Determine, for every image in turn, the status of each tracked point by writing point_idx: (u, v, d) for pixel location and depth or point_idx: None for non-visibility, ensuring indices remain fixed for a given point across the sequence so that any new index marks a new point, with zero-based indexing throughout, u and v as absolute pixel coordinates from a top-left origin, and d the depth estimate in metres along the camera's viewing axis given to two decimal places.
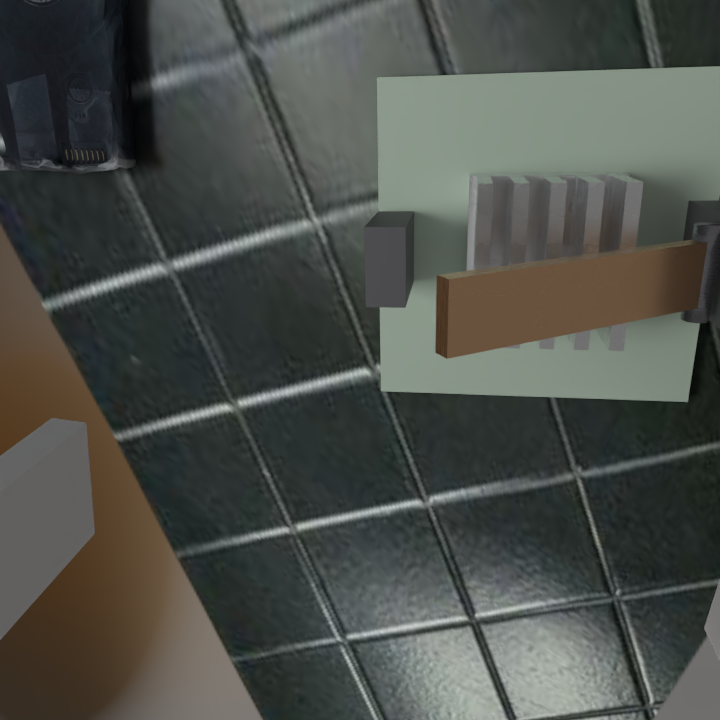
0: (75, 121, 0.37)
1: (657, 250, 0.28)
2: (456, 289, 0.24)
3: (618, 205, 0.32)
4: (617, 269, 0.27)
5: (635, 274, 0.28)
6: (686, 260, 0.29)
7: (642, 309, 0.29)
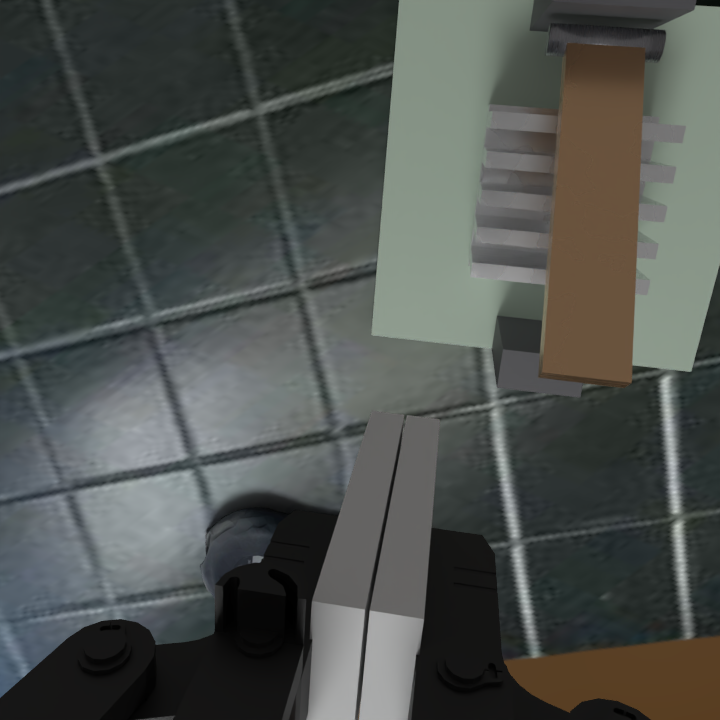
0: None
1: (563, 110, 0.26)
2: (555, 364, 0.23)
3: None
4: (573, 163, 0.25)
5: (584, 139, 0.25)
6: (582, 69, 0.26)
7: (629, 125, 0.25)
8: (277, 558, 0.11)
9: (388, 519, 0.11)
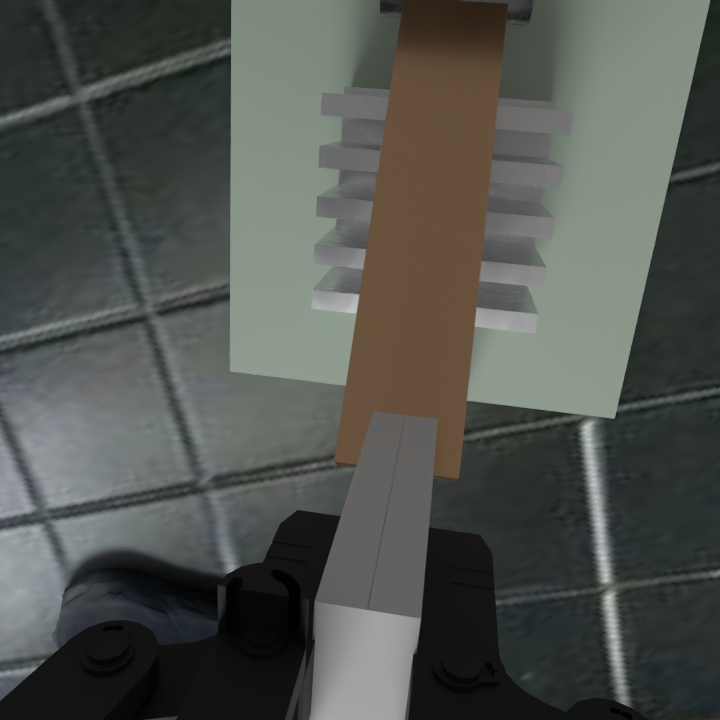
0: None
1: (392, 89, 0.19)
2: (353, 449, 0.16)
3: None
4: (400, 162, 0.18)
5: (417, 128, 0.18)
6: (421, 34, 0.19)
7: (479, 110, 0.18)
8: (279, 558, 0.11)
9: (390, 519, 0.11)
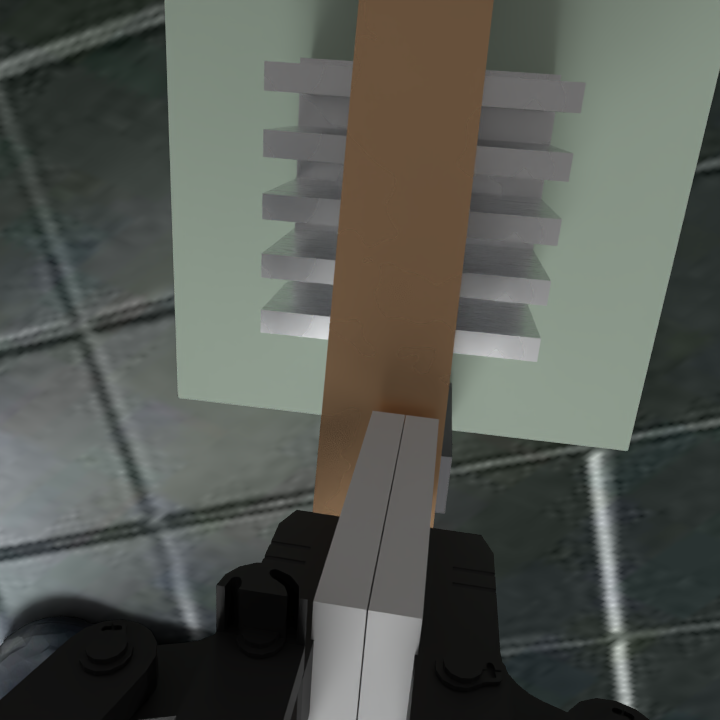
0: None
1: (353, 87, 0.15)
2: (329, 510, 0.17)
3: (317, 94, 0.18)
4: (366, 189, 0.16)
5: (385, 142, 0.15)
6: (388, 1, 0.15)
7: (458, 115, 0.15)
8: (278, 558, 0.11)
9: (390, 519, 0.11)
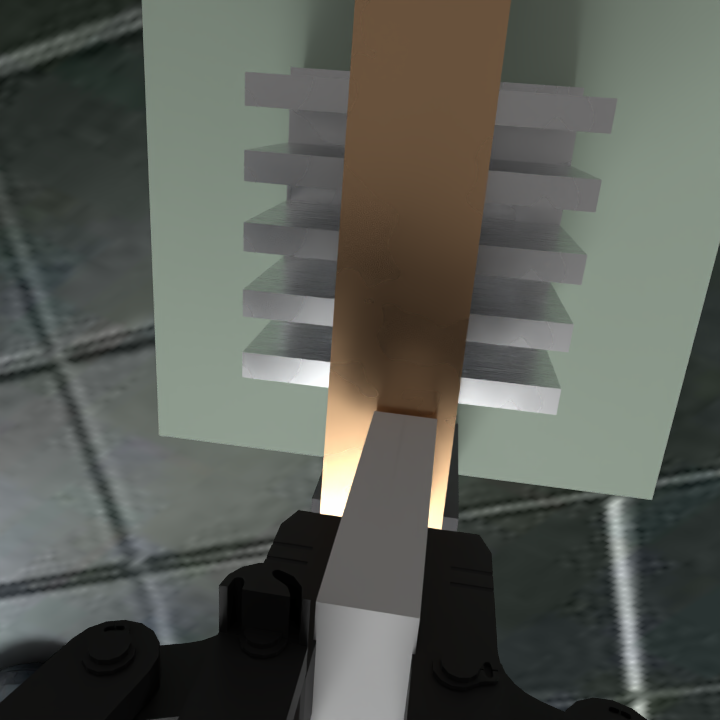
0: None
1: (350, 113, 0.14)
2: None
3: None
4: (366, 225, 0.14)
5: (386, 175, 0.14)
6: (388, 12, 0.13)
7: (467, 145, 0.14)
8: (280, 559, 0.11)
9: (392, 520, 0.11)
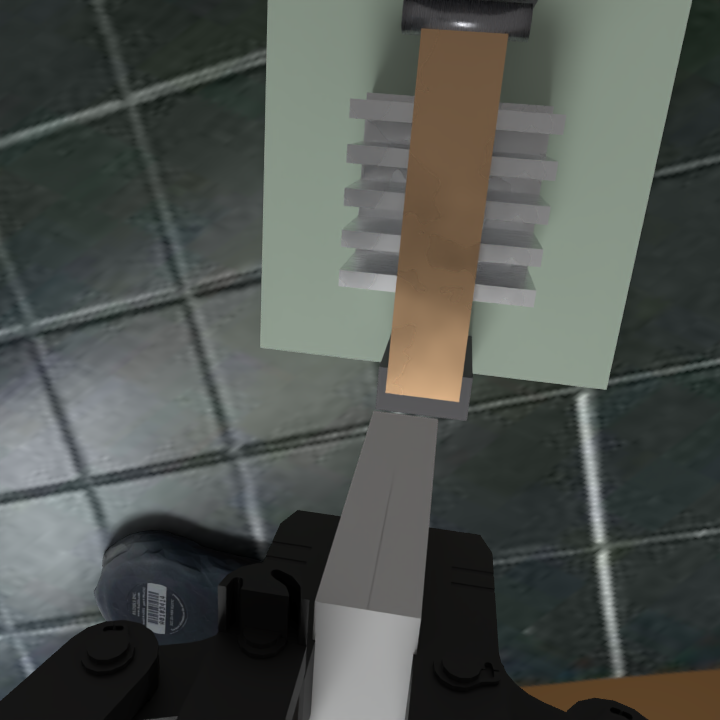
0: None
1: (413, 123, 0.24)
2: (396, 385, 0.27)
3: None
4: (421, 187, 0.25)
5: (433, 158, 0.24)
6: (436, 67, 0.24)
7: (480, 141, 0.24)
8: (279, 558, 0.11)
9: (390, 519, 0.11)
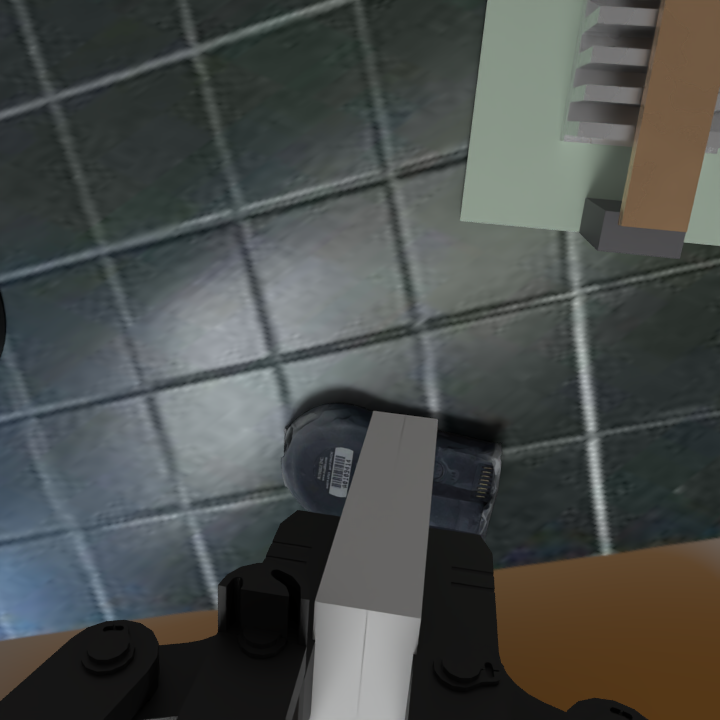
0: (456, 481, 0.45)
1: None
2: (631, 219, 0.32)
3: None
4: (672, 37, 0.29)
5: (685, 11, 0.29)
6: None
7: None
8: (279, 558, 0.11)
9: (390, 519, 0.11)
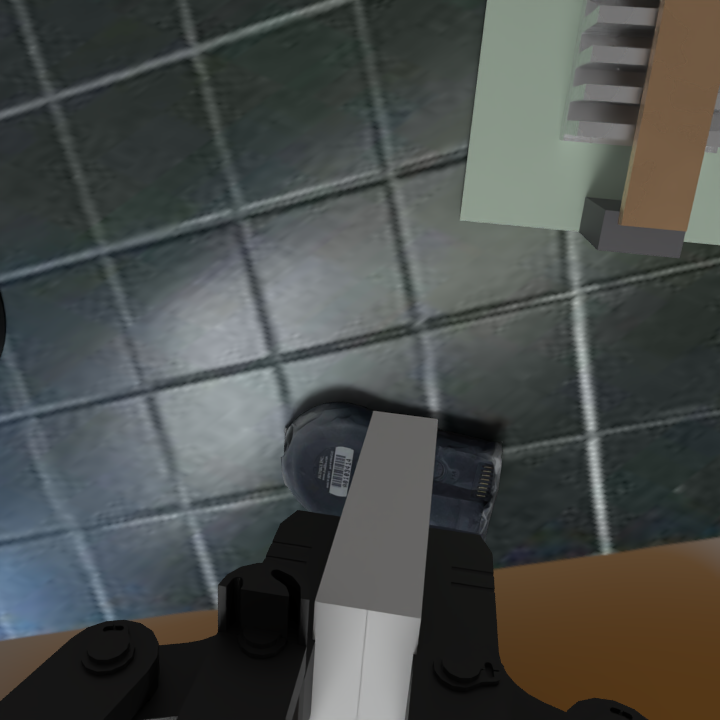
0: (456, 480, 0.45)
1: None
2: (631, 218, 0.32)
3: None
4: (671, 37, 0.29)
5: (685, 10, 0.29)
6: None
7: None
8: (279, 558, 0.11)
9: (390, 519, 0.11)
